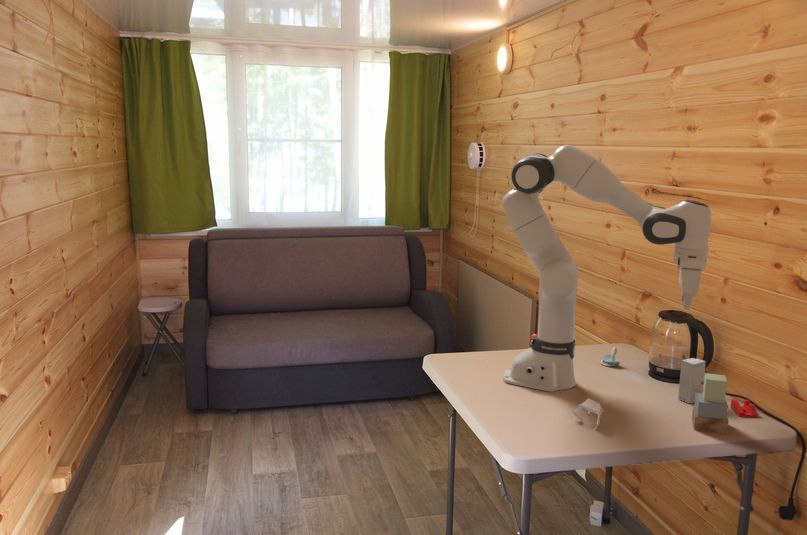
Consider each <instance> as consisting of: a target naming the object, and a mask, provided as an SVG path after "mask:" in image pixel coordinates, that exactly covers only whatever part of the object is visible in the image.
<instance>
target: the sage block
mask: <svg viewBox="0 0 807 535" xmlns="http://www.w3.org/2000/svg"><path fill="white" fill-rule="evenodd" d="M727 384H728V380H727V377H726V375H723V374H715V373H707V372H705V374H704V385H703V399H704V401H710V402H718V403H725V400H726V393H727Z"/></svg>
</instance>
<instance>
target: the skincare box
mask: <svg viewBox="0 0 807 535" xmlns="http://www.w3.org/2000/svg"><path fill="white" fill-rule="evenodd" d="M706 362H707V361H706V360H702V359H699V358H695V357H691V358H686V359H682V360H681V362H680V363H681V365H680V374H679V377H680V378H679V385H678V395H677V396H678V397H677V400H679V399H680V400H679V401H681V400H682V402H683V401H685V403H686V402H687V404H689V403H691V404H695V395H696V393H702V394H703V386H704V376H705V373H706Z"/></svg>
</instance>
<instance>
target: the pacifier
mask: <svg viewBox="0 0 807 535" xmlns="http://www.w3.org/2000/svg"><path fill="white" fill-rule="evenodd" d="M617 354H618V349H617V347H615V346H613V347H612V348H611V351H610V354H606V355H604V357H603V359H601V360H600V363H599V364H601V365H602V366H605V367H615V366H616V365H617V364H618V365H619V364H621V361H618V359H617V357H616V355H617Z"/></svg>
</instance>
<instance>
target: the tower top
mask: <svg viewBox="0 0 807 535" xmlns="http://www.w3.org/2000/svg"><path fill="white" fill-rule="evenodd" d="M693 406H694V407H695V410H696V413H697V416H699V417H707V418H715V419H723V420H726V419H727V417H728V409H729V404H728V402H727V400H726V399H725V403H718V402H710V401H704V399H703V394H702V393H696V395H695V402H694V403H693Z"/></svg>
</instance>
